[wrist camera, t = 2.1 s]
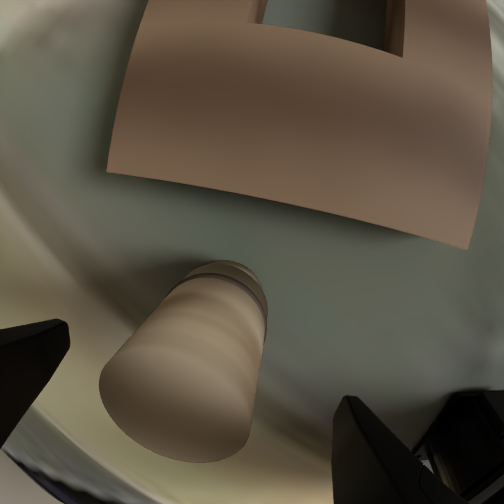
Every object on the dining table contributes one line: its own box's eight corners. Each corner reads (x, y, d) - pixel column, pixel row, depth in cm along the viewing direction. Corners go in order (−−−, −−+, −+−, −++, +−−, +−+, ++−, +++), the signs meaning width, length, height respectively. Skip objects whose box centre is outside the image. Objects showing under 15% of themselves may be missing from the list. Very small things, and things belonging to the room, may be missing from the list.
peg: (260, 341, 15) (238, 475, 7) (181, 322, 15) (106, 435, 7) (279, 263, 14) (269, 376, 6) (190, 244, 14) (90, 325, 6)
